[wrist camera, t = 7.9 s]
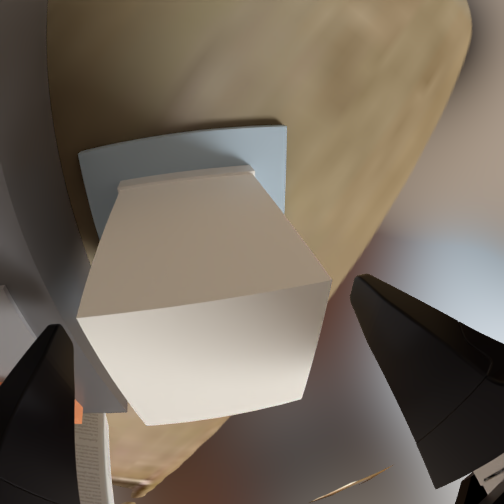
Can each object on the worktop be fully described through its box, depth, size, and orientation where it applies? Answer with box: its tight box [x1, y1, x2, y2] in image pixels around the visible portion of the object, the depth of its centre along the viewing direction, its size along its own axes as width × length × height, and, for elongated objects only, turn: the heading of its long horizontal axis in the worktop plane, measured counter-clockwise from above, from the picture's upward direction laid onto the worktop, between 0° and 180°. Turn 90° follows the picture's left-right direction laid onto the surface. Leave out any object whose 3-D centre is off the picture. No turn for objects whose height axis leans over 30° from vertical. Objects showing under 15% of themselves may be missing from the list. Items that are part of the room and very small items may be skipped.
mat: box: [78, 125, 287, 240], centre depth 12 cm, size 8×8×1 cm
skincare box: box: [75, 413, 114, 504], centre depth 14 cm, size 6×4×12 cm
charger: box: [76, 165, 332, 426], centre depth 9 cm, size 5×5×7 cm
